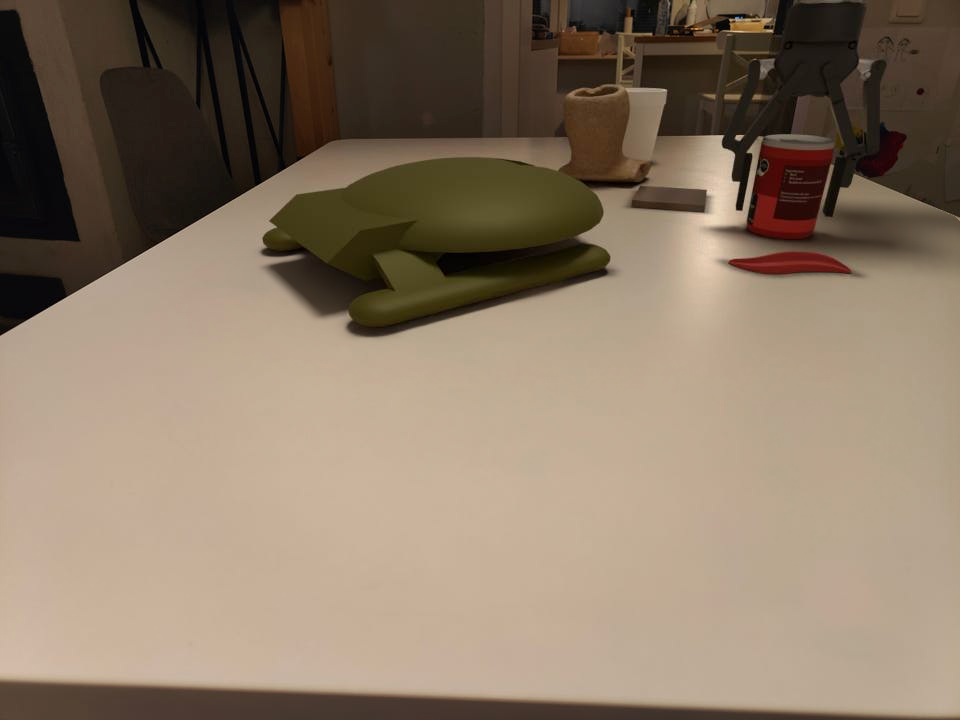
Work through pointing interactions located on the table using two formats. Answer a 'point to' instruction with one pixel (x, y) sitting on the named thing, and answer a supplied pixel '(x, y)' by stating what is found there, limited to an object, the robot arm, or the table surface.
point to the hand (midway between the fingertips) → (782, 211)
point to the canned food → (789, 185)
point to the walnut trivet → (670, 198)
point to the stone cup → (600, 136)
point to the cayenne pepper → (791, 263)
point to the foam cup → (643, 122)
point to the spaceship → (443, 232)
